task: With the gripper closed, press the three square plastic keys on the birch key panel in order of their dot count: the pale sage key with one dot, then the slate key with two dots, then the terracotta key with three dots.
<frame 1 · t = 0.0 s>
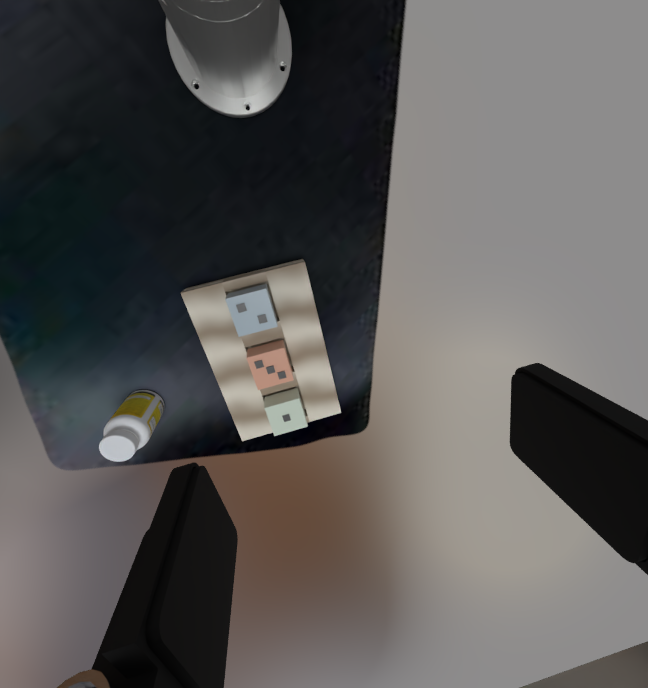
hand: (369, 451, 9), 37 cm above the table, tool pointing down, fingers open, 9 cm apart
supplement bottle: (146, 403, 47), on the table
key panel: (270, 351, 47), on the table
key two dots: (252, 310, 40), point 5 cm above the table, slide at 0.0 cm
key three dots: (270, 364, 43), point 5 cm above the table, slide at 0.0 cm
key one dot: (286, 412, 46), point 5 cm above the table, slide at 0.0 cm
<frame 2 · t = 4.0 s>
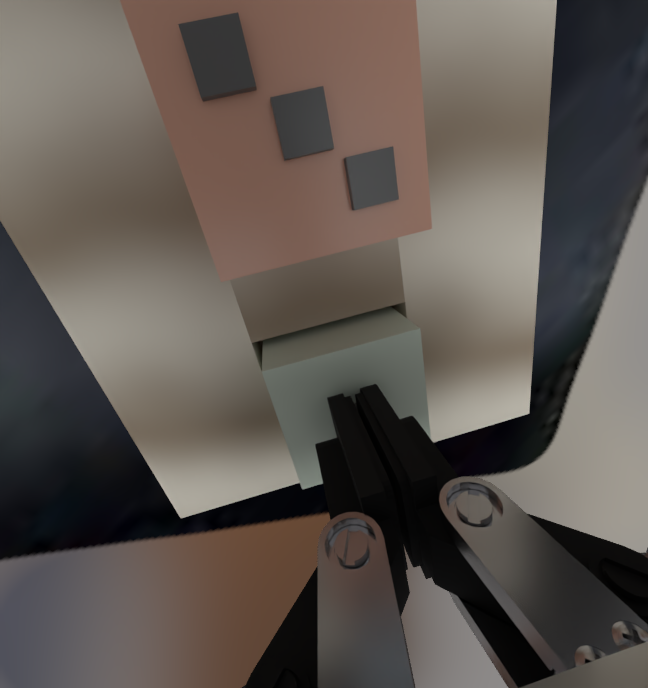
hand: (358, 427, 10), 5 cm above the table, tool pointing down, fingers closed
key panel: (285, 168, 12), on the table
key three dots: (296, 141, 7), point 5 cm above the table, slide at 0.0 cm
key one dot: (346, 393, 12), point 3 cm above the table, slide at 1.2 cm, touching gripper
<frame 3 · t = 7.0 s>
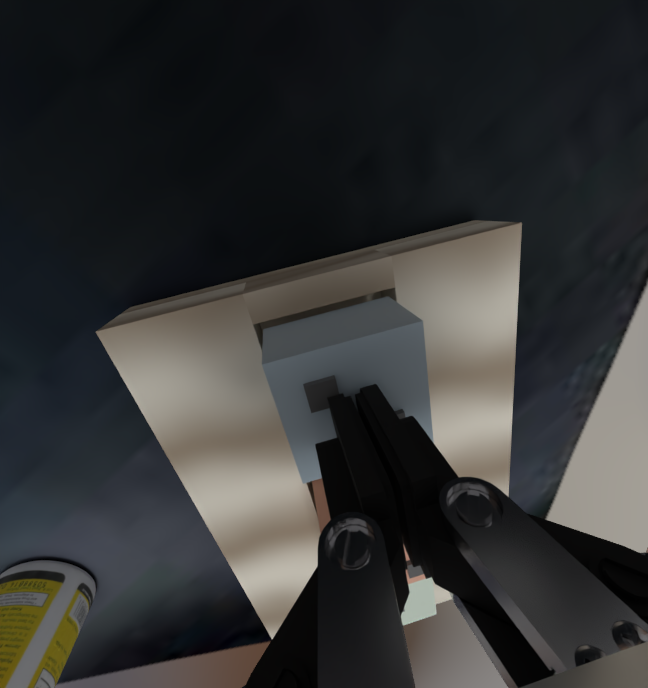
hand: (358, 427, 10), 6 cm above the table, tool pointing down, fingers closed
supplement bottle: (51, 582, 19), on the table
key panel: (354, 457, 19), on the table
key two dots: (347, 387, 12), point 5 cm above the table, slide at 0.1 cm, touching gripper
key three dots: (378, 526, 15), point 5 cm above the table, slide at 0.0 cm
key one dot: (386, 580, 20), point 3 cm above the table, slide at 1.9 cm
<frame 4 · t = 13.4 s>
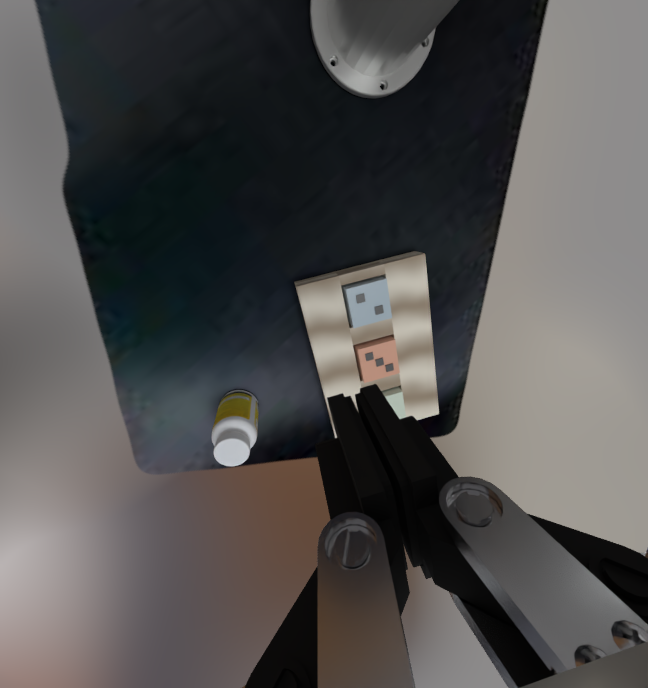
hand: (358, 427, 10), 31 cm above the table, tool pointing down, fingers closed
supplement bottle: (239, 404, 45), on the table
key panel: (369, 349, 45), on the table
key two dots: (366, 301, 39), point 3 cm above the table, slide at 1.9 cm
key three dots: (376, 357, 42), point 3 cm above the table, slide at 1.9 cm
key one dot: (384, 405, 45), point 3 cm above the table, slide at 1.9 cm
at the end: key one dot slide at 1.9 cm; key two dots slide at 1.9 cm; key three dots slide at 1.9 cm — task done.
